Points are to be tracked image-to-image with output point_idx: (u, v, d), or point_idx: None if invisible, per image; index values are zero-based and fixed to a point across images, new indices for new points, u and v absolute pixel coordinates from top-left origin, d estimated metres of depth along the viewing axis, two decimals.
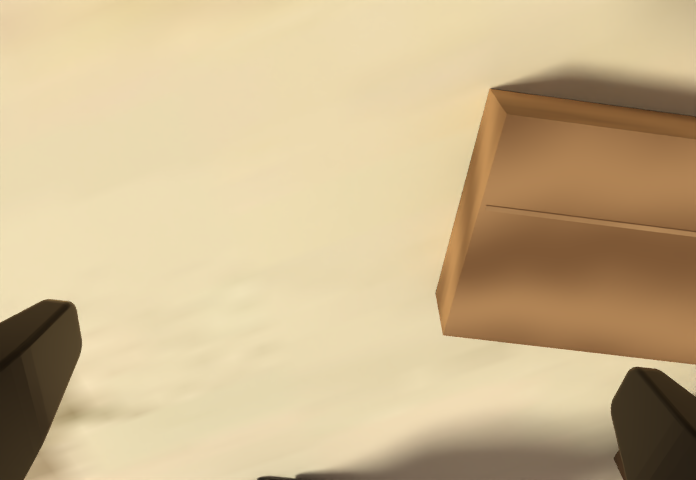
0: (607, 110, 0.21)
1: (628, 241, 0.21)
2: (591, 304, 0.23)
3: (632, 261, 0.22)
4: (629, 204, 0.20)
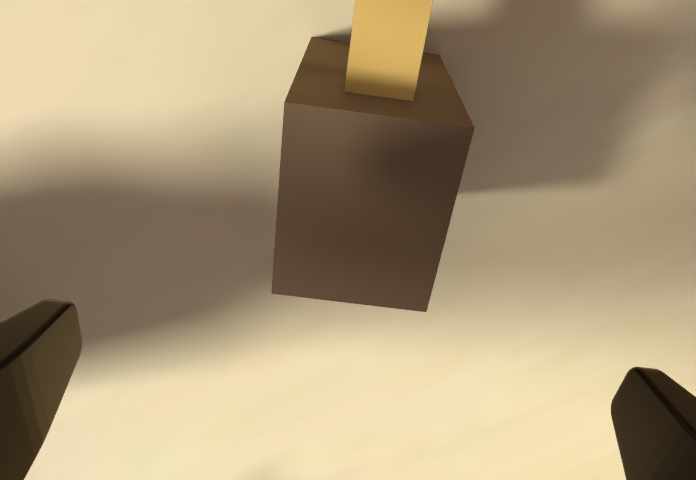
0: None
1: None
2: None
3: None
4: None
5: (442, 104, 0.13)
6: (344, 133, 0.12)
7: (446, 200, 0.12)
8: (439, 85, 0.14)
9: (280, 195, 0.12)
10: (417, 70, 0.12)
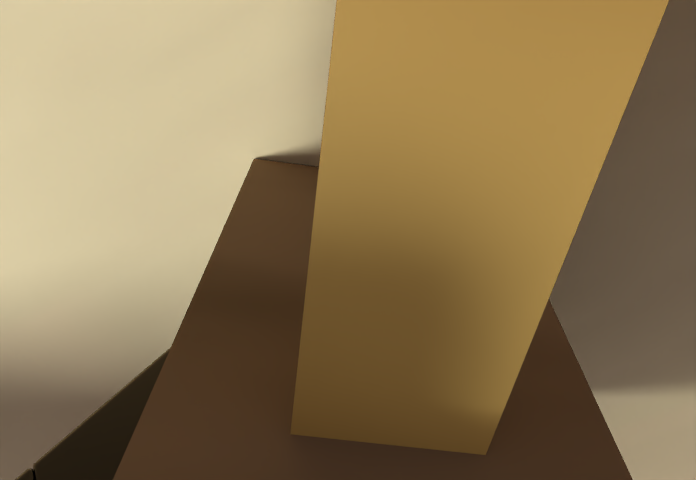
0: None
1: None
2: None
3: None
4: None
5: (566, 460, 0.04)
6: None
7: None
8: None
9: None
10: (504, 395, 0.04)
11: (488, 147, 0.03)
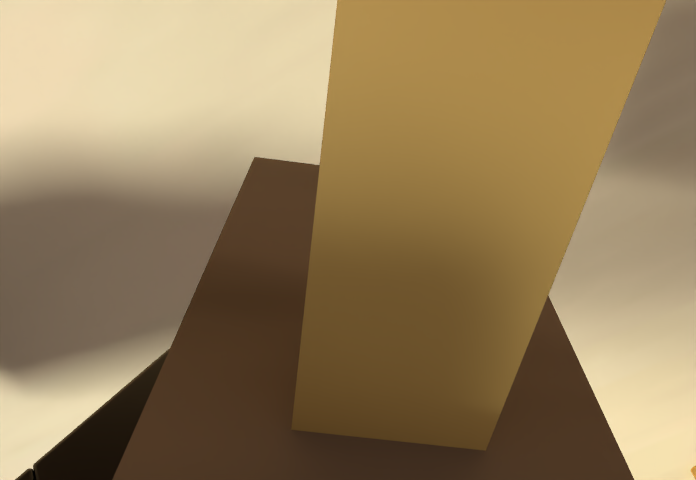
0: None
1: None
2: None
3: None
4: None
5: (565, 456, 0.05)
6: None
7: None
8: None
9: None
10: (503, 390, 0.04)
11: (489, 142, 0.03)
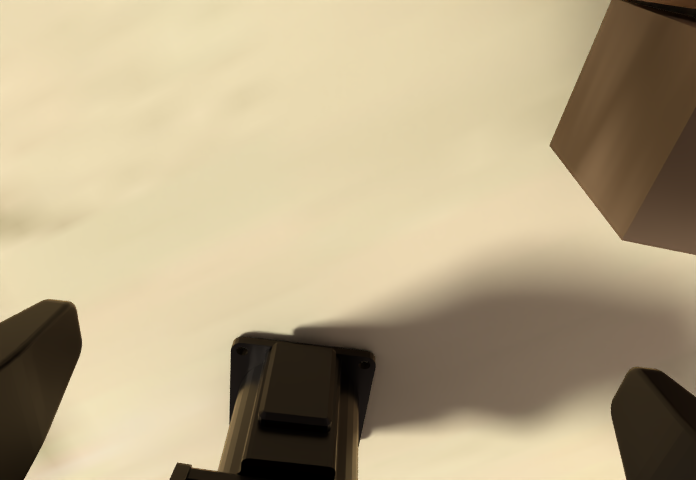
0: None
1: None
2: None
3: None
4: None
5: None
6: None
7: None
8: None
9: (681, 138, 0.13)
10: None
11: None
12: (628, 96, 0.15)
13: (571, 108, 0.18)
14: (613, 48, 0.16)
